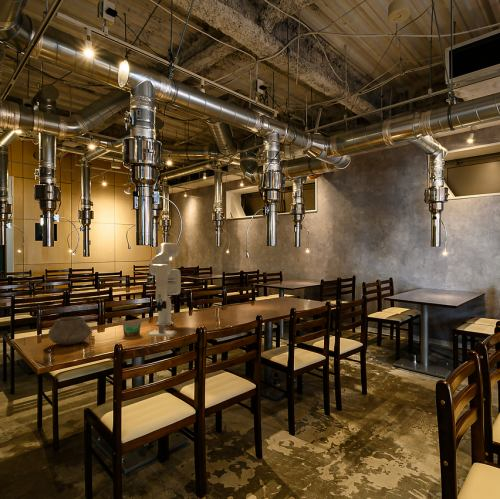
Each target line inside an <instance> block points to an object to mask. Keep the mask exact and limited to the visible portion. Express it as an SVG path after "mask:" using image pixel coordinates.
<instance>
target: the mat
mask: <svg viewBox="0 0 500 499" xmlns="http://www.w3.org/2000/svg"><path fill="white" fill-rule="evenodd" d="M176 334H177V331H175V333H174V334H173V335H171V336H150V337H152V338H153V337H156V338H157V337H167V338H169V337H173V336H174V335H176ZM146 337H149V336H148V334H146Z"/></svg>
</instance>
